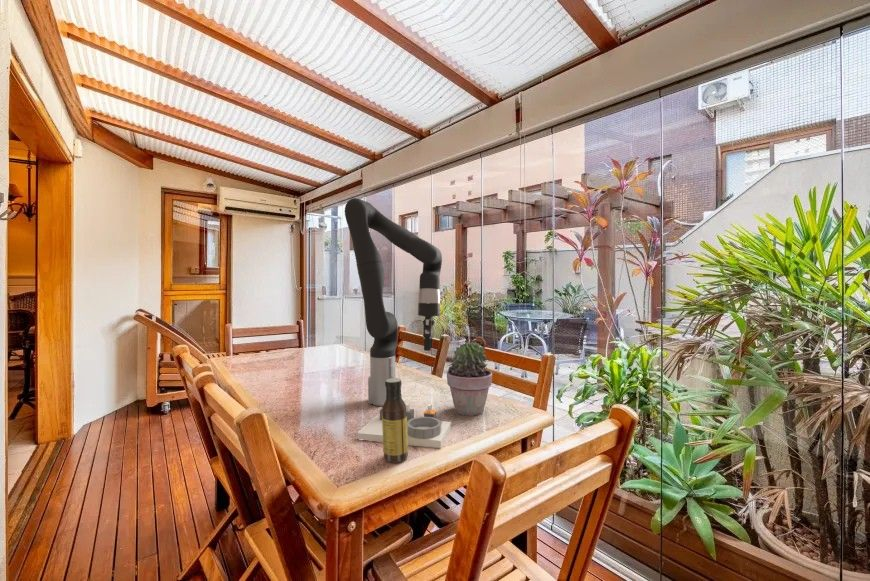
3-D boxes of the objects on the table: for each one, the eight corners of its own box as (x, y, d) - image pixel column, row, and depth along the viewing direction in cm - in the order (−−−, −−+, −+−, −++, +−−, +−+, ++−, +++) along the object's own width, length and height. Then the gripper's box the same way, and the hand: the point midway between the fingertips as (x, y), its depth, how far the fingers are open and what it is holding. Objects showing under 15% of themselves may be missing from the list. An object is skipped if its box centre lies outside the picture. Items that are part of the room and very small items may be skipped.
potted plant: (433, 417, 123) (432, 341, 123) (452, 400, 142) (452, 333, 141) (487, 425, 117) (487, 344, 116) (500, 405, 135) (500, 336, 134)
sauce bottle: (398, 450, 100) (398, 375, 99) (412, 458, 95) (412, 379, 94) (377, 457, 95) (377, 379, 95) (391, 466, 91) (390, 384, 90)
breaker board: (357, 440, 106) (357, 414, 106) (376, 422, 120) (376, 399, 120) (440, 448, 101) (440, 421, 100) (450, 428, 114) (450, 404, 114)
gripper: (420, 302, 139) (419, 347, 137) (416, 301, 124) (415, 351, 123) (440, 303, 138) (439, 347, 137) (439, 301, 124) (438, 351, 123)
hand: (428, 349), depth 130 cm, fingers open, 8 cm apart
